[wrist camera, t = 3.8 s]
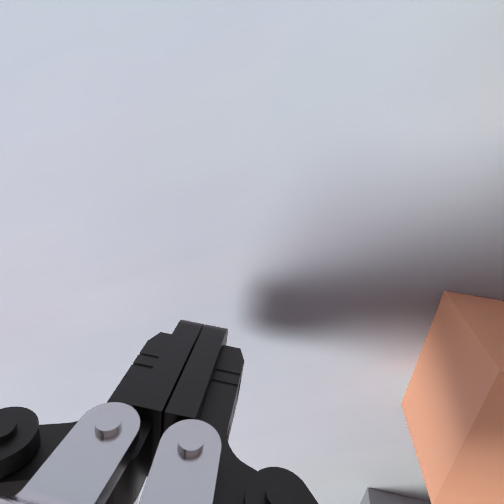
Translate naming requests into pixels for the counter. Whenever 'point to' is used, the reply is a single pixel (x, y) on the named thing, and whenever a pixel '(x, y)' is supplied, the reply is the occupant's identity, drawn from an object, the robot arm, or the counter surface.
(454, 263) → the counter surface
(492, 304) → the terracotta block
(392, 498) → the grey block
